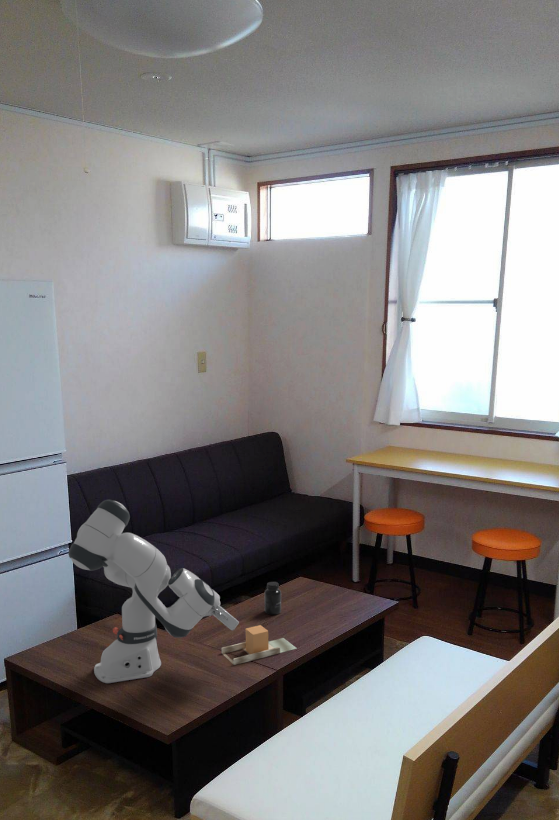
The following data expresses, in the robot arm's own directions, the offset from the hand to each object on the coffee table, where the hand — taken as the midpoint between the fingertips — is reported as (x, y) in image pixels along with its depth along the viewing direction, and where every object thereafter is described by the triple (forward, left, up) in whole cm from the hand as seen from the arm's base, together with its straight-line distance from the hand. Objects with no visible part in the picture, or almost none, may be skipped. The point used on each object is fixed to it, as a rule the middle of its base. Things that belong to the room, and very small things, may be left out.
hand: (233, 624), depth 243 cm
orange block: (+9, +1, -12) cm, 15 cm away
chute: (+10, +1, -14) cm, 17 cm away
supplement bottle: (+33, +32, -14) cm, 48 cm away
